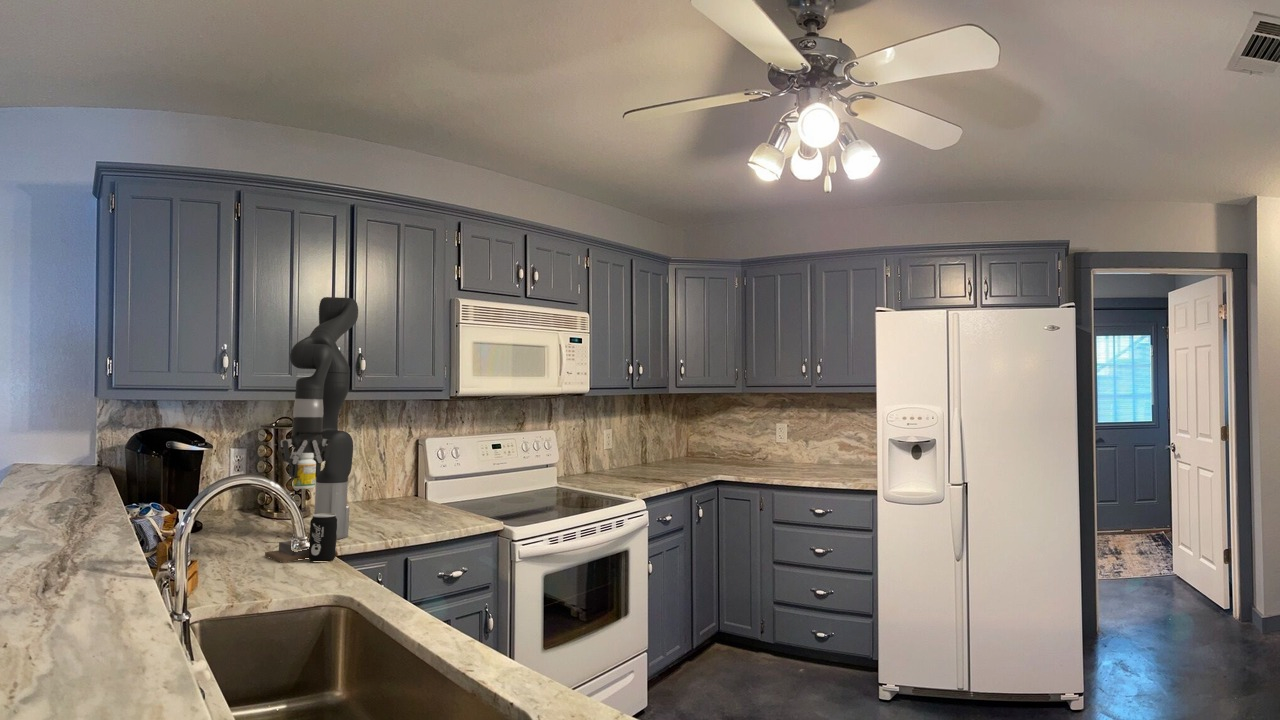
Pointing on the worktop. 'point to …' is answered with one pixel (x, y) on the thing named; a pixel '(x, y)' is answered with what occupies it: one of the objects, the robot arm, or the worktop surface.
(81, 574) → the worktop surface
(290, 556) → the bottle holder
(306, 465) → the supplement bottle
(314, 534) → the beverage can
